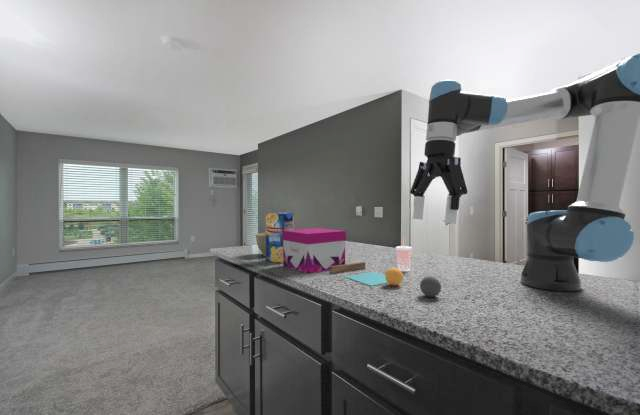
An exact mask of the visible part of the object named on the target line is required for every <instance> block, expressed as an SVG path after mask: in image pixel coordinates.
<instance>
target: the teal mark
mask: <svg viewBox="0 0 640 415" xmlns="http://www.w3.org/2000/svg"><path fill="white" fill-rule="evenodd" d="M385 274H386V273H380V272H377V271H372V272H365V273H360V274H353V275H347V276H345V278H346V279H349V280H352V281H355V282H357V283H360V284H363V285H365V286H370V287H374V286H379V285H385V284H389V283H388V282H387V281H386V278H385Z"/></svg>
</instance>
